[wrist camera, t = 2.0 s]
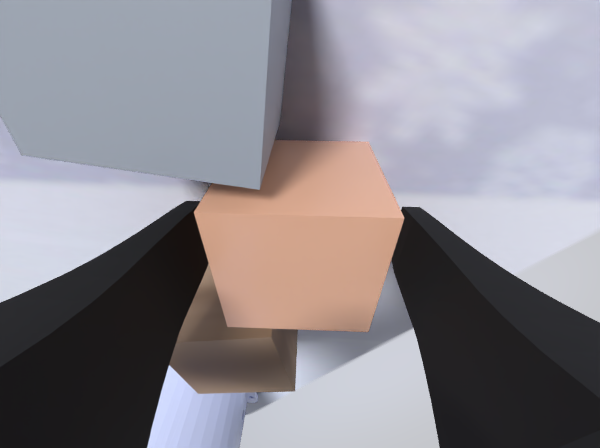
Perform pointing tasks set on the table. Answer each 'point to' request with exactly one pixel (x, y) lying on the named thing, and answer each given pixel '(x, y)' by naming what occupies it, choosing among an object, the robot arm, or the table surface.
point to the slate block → (146, 84)
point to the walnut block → (231, 350)
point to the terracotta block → (303, 239)
